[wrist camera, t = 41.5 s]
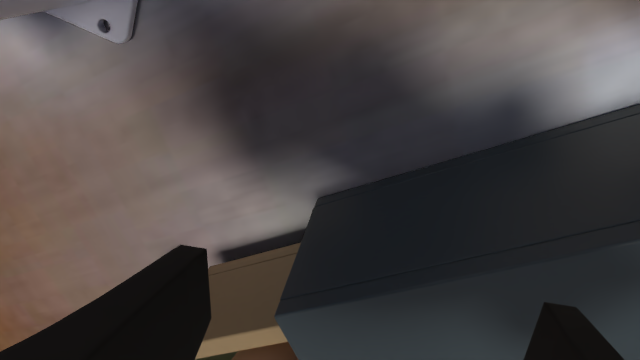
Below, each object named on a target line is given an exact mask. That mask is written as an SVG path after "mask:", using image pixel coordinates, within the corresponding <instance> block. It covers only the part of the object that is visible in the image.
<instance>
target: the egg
mask: <svg viewBox="0 0 640 360" xmlns="http://www.w3.org/2000/svg"><path fill="white" fill-rule="evenodd" d="M231 360H298V358H297V357H296V355H295V353H294V351H293V350H292V348H291V346H290V344H289V343H288V342H284V343H279V344H274V345H268V346H263V347H258V348H252V349H247V350H242V351H238V352H237V353H236V354H235V356H234V357H233V358H232V359H231Z"/></svg>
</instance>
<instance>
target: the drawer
mask: <svg viewBox="0 0 640 360" xmlns="http://www.w3.org/2000/svg"><path fill="white" fill-rule="evenodd" d="M300 244H301V243H298V244H294V245H290V246H286V247H282V248H279V249H275V250H271V251H267V252H263V253H260V254H256V255H252V256H248V257H244V258H241V259H237V260H233V261H229V262H225V263H222V264H218V265H214V266H210V268H209V269H208V276H209V289H210V303H211V316H212V318H211V321H210V323H209V326H208V328H207V331H206V333H205V336H204V339H203V341H202V343H201V346H200V348H199V351H198V353H197V355H196V358H195V360H231V359H232V358H233V357H234V356H235V354H236V353H237V352H238V351H242V350H247V349H252V348H258V347H263V346H268V345H274V344H279V343H284V342H288V341H287V339H286V337H285V336H284V334H283V332H282V330H281V329H280V327H279V325H278V323H277V322H276V320H275V318H274V315H275V312H276V310H277V307H278V304H279V302H280V297H281V295H282V292H283V289H284V287H285V284H286V281H287V279H288V276H289V273H290V271H291V268H292V265H293V262H294V260H295V257H296V254H297V252H298V249H299V246H300Z"/></svg>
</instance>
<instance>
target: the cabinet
mask: <svg viewBox="0 0 640 360" xmlns="http://www.w3.org/2000/svg"><path fill="white" fill-rule="evenodd" d="M544 302H548V303H554V304H561V305H567V306H573V307H577V308H578V309H579V310H580V311H581V313H582V314H583V315H584V316H585V317H586V318H587V319H588V320H589V321H590V322H591V323H592V324H593V325H594V327H595V328H596V329H597V330H598V331H599V332H600V333H601V334H602V335H603V337H604V338H605V339H606V340H607V341H608V342H609V343H610V344H611V345H612V347H613V348H614V349H615V350H616V351H617V352H618V353H619V354H620V355H621V356H622V358H623V359H624V360H640V105H636V106H633V107H629V108H626V109H623V110H619V111H616V112H612V113H609V114H605V115H602V116H599V117H595V118H592V119H588V120H585V121H582V122H578V123H575V124H571V125H568V126H565V127H561V128H558V129H554V130H551V131H548V132H544V133H541V134H537V135H534V136H531V137H527V138H524V139H520V140H517V141H513V142H510V143H507V144H503V145H500V146H496V147H493V148H490V149H486V150H483V151H479V152H476V153H473V154H469V155H466V156H462V157H459V158H456V159H452V160H449V161H445V162H442V163H438V164H435V165H432V166H428V167H425V168H421V169H418V170H415V171H411V172H408V173H404V174H401V175H398V176H394V177H391V178H387V179H384V180H381V181H377V182H374V183H370V184H367V185H363V186H360V187H357V188H353V189H350V190H346V191H343V192H340V193H336V194H333V195H329V196H326V197H323V198H319V199H318V200H317V202H316V205H315V207H314V209H313V211H312V214H311V217H310V220H309V222H308V225H307V228H306V230H305V233H304V236H303V238H302V241H301V244H300V246H299V249H298V252H297V254H296V257H295V260H294V262H293V265H292V268H291V271H290V273H289V276H288V279H287V281H286V284H285V287H284V289H283V292H282V295H281V297H280V302H279V304H278V307H277V310H276V312H275V315H274V318H275V320H276V322H277V323H278V325H279V327H280V329H281V330H282V332H283V334H284V336H285V337H286V339H287V341H288V343H289V344H290V346H291V348H292V350H293V351H294V353H295V355H296V357H297V358H298V360H524V357H525V354H526V351H527V349H528V346H529V343H530V340H531V337H532V335H533V332H534V329H535V326H536V323H537V321H538V318H539V315H540V312H541V309H542V307H543V304H544Z"/></svg>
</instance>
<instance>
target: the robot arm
mask: <svg viewBox="0 0 640 360" xmlns="http://www.w3.org/2000/svg"><path fill="white" fill-rule="evenodd" d="M137 3H138V0H0V20H2V19H7V18H12V17H17V16H22V15H27V14H32V13H37V12H42V11H44V12H46V13H48V14H50V15H53V16H55V17H57V18H59V19H62V20H64V21H66V22H68V23H71V24H73V25H75V26H77V27H80V28H82V29H84V30H86V31H89V32H91V33H93V34H96V35H98V36H100V37H102V38H105V39H107V40H109V41H111V42H114V43H117V44H121V43H124V42H127V41H128V40H129V39H130V38H131V36H132V31H133V25H134V20H135V14H136V9H137ZM104 20H106V21H107V22H108V23H109V25H110V30H109V31H108V30H107V29H106V28H105V27H104ZM211 318H212V316H211V303H210V289H209V276H208V263H207V249H204V248H197V247H191V246H185V245H180V246H178V247H177V248H175V249H173V250H172V251H170V252H169V253H167V254H165V255H164V256H162V257H161V258H159V259H158V260H156V261H155V262H153V263H152V264H150V265H149V266H147V267H146V268H144V269H143V270H141V271H140V272H138V273H137V274H135V275H133V276H132V277H130V278H129V279H127V280H126V281H124V282H123V283H121V284H119V285H118V286H116V287H115V288H113V289H112V290H110V291H109V292H107V293H105V294H104V295H102V296H101V297H99V298H97V299H96V300H94V301H92V302H91V303H89V304H87V305H85V306H84V307H82V308H80V309H79V310H77V311H75V312H73V313H72V314H70V315H68V316H67V317H65V318H63V319H62V320H60V321H58V322H56V323H55V324H53V325H51V326H49V327H48V328H46V329H44V330H42V331H40V332H38V333H36V334H35V335H33V336H31V337H29V338H27V339H25V340H23V341H21V342H19V343H17V344H15V345H13V346H11V347H9V348H7V349H5V350H3V351H1V352H0V360H195V358H196V355H197V353H198V351H199V348H200V346H201V343H202V341H203V339H204V336H205V333H206V331H207V328H208V326H209V323H210V321H211ZM524 360H624V359H623V358H622V356H621V355H620V354H619V353H618V352H617V351H616V350H615V349H614V348H613V347H612V345H611V344H610V343H609V342H608V341H607V340H606V339H605V338H604V337H603V335H602V334H601V333H600V332H599V331H598V330H597V329H596V328H595V327H594V325H593V324H592V323H591V322H590V321H589V320H588V319H587V318H586V317H585V316H584V315H583V314H582V313H581V311H580V310H579V309H578V308H577V307H573V306H567V305H561V304H554V303H548V302H544V304H543V307H542V309H541V312H540V315H539V318H538V321H537V323H536V326H535V329H534V332H533V335H532V337H531V340H530V343H529V346H528V349H527V351H526V354H525V357H524Z"/></svg>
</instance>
